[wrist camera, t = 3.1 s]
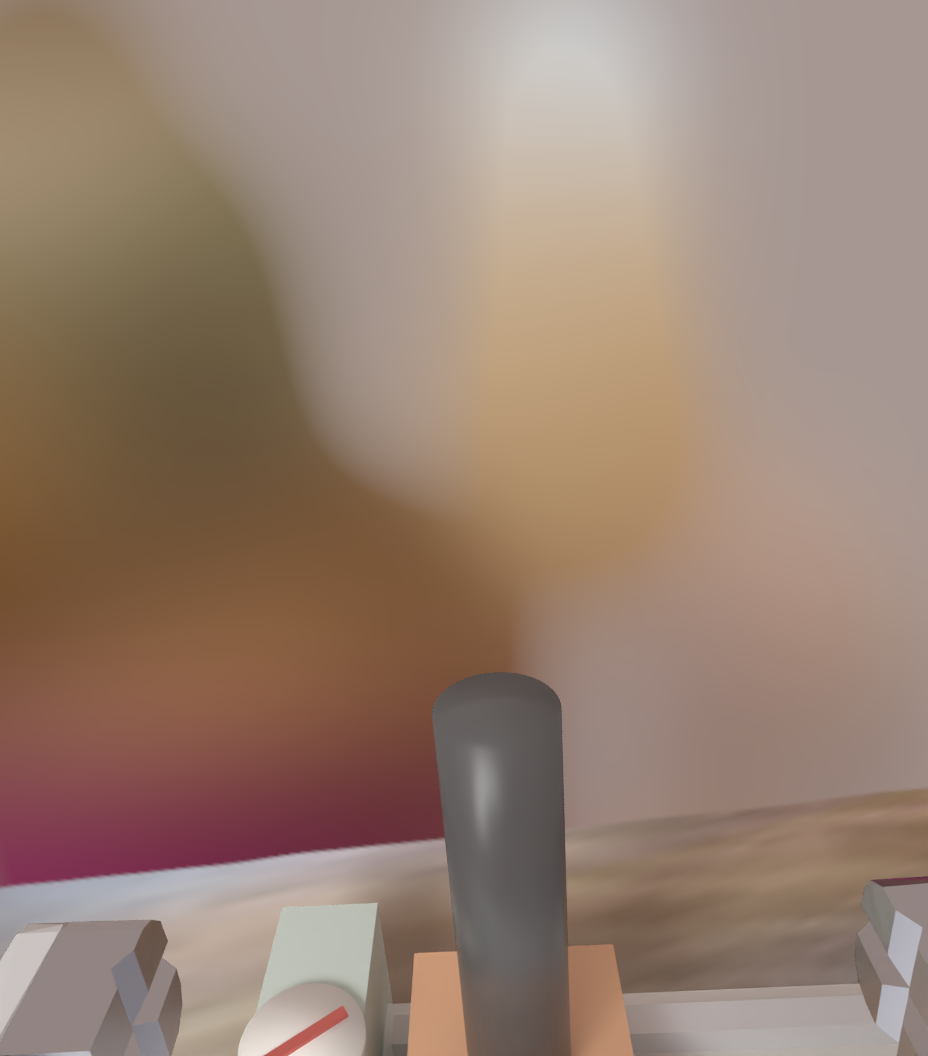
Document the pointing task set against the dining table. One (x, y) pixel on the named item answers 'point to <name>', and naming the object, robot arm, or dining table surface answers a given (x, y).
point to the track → (653, 1018)
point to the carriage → (509, 890)
